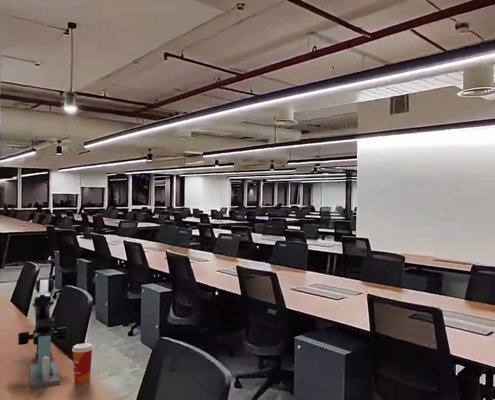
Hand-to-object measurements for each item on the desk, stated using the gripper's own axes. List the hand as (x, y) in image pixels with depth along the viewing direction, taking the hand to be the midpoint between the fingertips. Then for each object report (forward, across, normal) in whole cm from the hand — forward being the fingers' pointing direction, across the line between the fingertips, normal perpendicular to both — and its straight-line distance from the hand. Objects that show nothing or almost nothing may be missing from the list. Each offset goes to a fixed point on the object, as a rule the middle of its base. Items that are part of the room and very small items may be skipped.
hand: (43, 354), depth 181 cm
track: (+7, 0, +5) cm, 8 cm away
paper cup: (+16, +13, -4) cm, 21 cm away
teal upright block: (+8, 0, +1) cm, 8 cm away
